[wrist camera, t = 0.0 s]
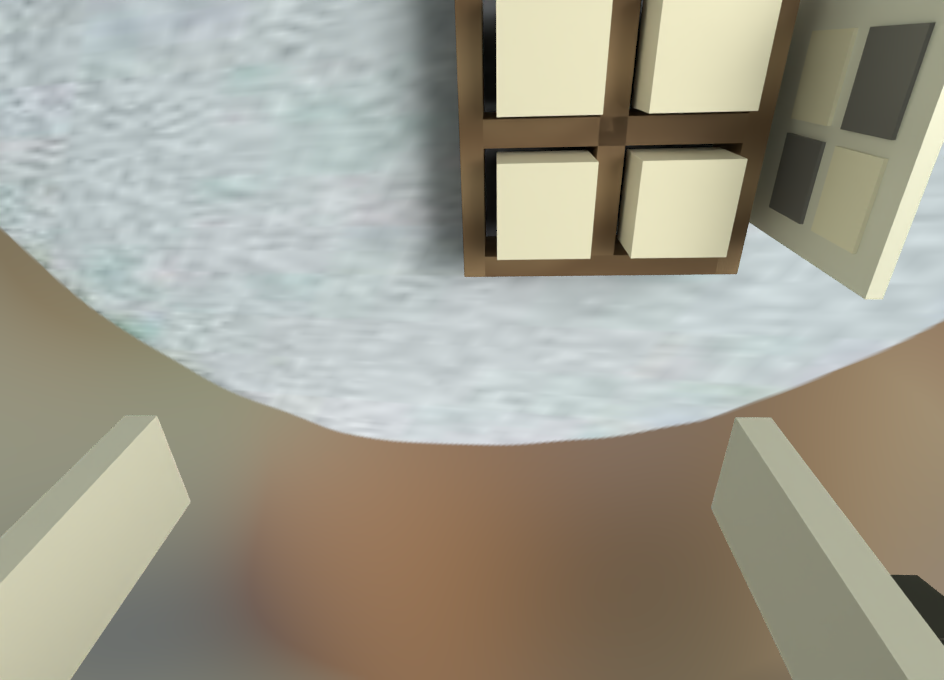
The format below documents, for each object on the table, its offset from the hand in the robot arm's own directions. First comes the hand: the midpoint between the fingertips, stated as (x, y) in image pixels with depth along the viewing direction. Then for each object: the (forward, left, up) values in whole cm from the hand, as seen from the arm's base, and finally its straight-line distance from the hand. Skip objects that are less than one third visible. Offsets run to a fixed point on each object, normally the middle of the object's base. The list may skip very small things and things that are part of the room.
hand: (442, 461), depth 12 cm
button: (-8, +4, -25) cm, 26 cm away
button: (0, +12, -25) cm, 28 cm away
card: (-4, +19, -28) cm, 34 cm away
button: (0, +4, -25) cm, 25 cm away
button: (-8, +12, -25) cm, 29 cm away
